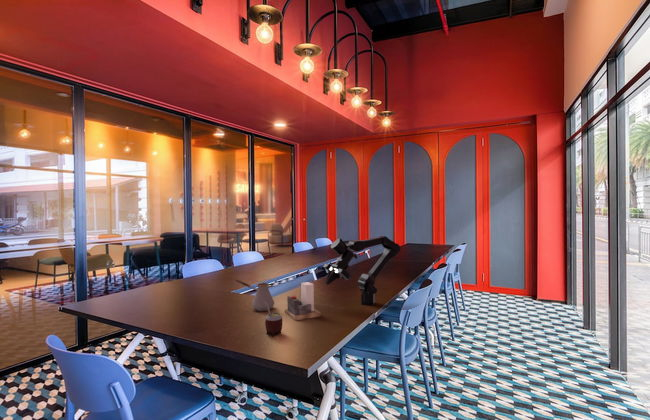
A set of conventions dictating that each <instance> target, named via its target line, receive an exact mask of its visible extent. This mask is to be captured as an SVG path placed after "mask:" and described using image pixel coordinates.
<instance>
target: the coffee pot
mask: <svg viewBox="0 0 650 420" xmlns="http://www.w3.org/2000/svg"><path fill="white" fill-rule="evenodd" d="M236 283H239V284H241V285H243V286H246V287H248V288H251V289H253V290H255V291H256V293H255V295H254V297H253V300H252V303H251V306H252V308H253V309H254V310H255V311H258V312H265V311H268V308H267V306H266V304H265V303H264V302H266V303H267V304H268V306H269V310H271V309H272V308H273V307H274V305H275V301H274V298H273V296H272V295H271V292H270V290H269V286H270V283H268V282H261V283H260V282H259V283H256V286H257V288H256V287H253V286H251V285H250V284H248V283H247V282H243V281H241V280H238V279H235V281H234V284H236ZM263 301H264V302H263Z"/></svg>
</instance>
